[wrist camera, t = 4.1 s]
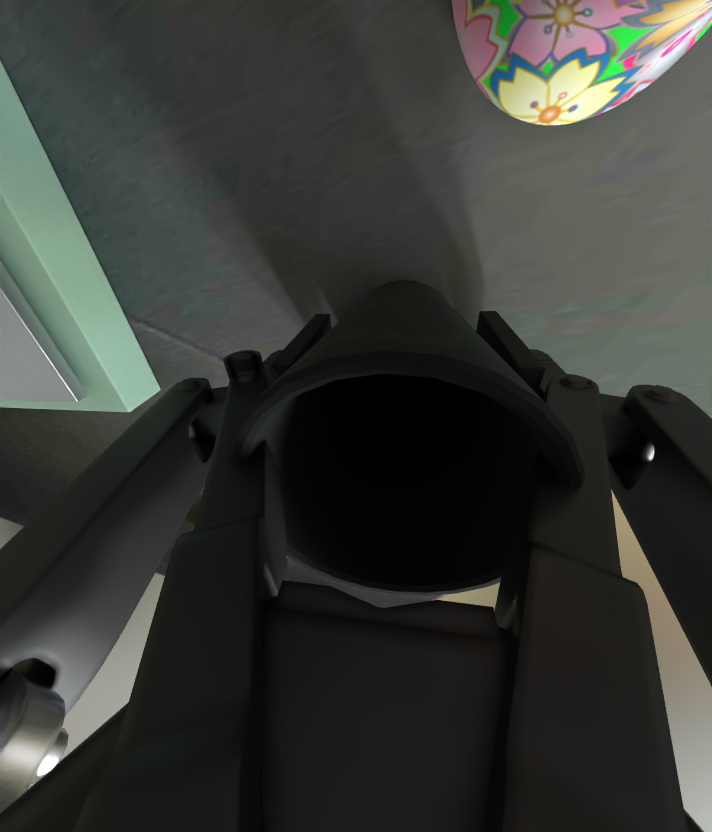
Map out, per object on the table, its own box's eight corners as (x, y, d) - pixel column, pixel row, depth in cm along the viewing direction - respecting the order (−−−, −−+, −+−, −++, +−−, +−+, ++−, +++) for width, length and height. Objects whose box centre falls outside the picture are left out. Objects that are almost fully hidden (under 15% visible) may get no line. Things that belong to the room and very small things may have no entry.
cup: (312, 286, 16) (154, 409, 6) (462, 231, 13) (605, 283, 4) (359, 405, 20) (310, 598, 10) (482, 377, 17) (578, 596, 7)
